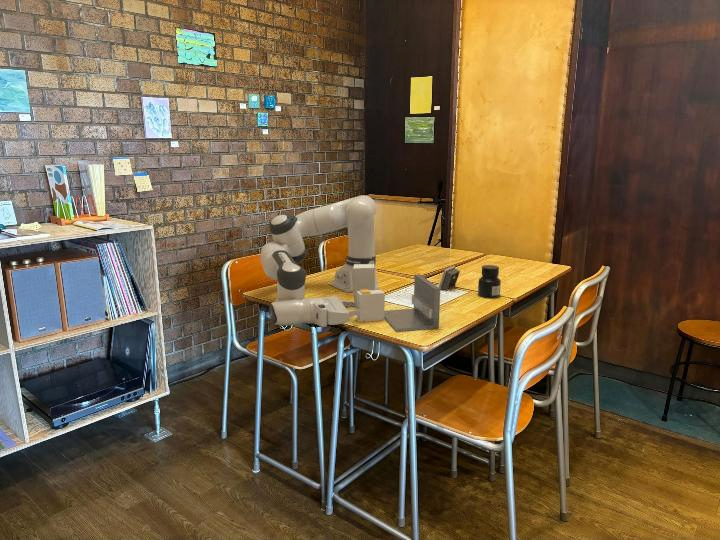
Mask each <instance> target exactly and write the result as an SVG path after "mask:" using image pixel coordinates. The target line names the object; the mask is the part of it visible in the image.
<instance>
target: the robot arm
mask: <svg viewBox="0 0 720 540" xmlns="http://www.w3.org/2000/svg"><path fill="white" fill-rule="evenodd" d="M376 212H377V204H376V202H375V201H374V199H373V198H372V197H370V196H368V195H362V194H361V195H358V196H355V197H351V198H348V199H344V200H341V201H337V202H334V203H330V204H327V205H323V206H319V207H316V208H312V209H309V210H306V211H303V212H301V213H299V214H296V215H291V214H288V213H286V214H285V213H282V214H278V215H275V216H274V217H272V219H270V221H269V223H268V229H269V232H270V234H271V237H272V239H273V241H269V242H267V243H265V244H264V245H263V246H262V248H261V250H260V263H261V266H262V269H263V271H264V273H265V275H266V276H267V277H268V278H269V279H271V280H274V281H276V285H277V286H276V288H277V289H276V290H277V293H276V295H277V296H276V299H275V300H274V301H273V302H271V303H270V304H269V308H268V310H269V317H270V320H271V322H272V323H273V325H277V326H299V325H301V324H302V325H303V324H307V325H317V326H319V327H321V328H326V327H327V326H328V325H329V326H335V325H342V324H347V323H349V322H350V320H351V319H350V318H353V317H354V316H357V315H360V310H359V309H357V308H354V309H352V310H350V309H347V308H353V307H354V300H349V301H348V300H340V298H339V297H338V296H335V295H334V296H327V297H310V298H305V294H306V293H305V292H306V291H305V290H306V289H305V288H306V279H307V271H306V270H305V269H304V268H303V267H302V266H301V265H299V264H298V263H301V262H303V260H304V259H306V257H307V253H308V250H307V247H306V245H305V242H304V239H303V238H304V237H313V236H318V235H323V234H327V233H331V232H334V231H338V230H341V229H344V228H347V234H348V255H346V256H344V260H345V263H344V264H343V265H342V266H341V267H339V268H338V269H336V271H335V273H334V279H332V280H331V281H329V283H328V284H330V286H331V285H332V287H333V286H334V288H336V289H338V290H340V289H341V290H340V291H342V290H343V292H344V293H354V277H353V267H354V264H374V266H375V290H379V283H378V278H377V269H376V263H377V258H376V257H377V256H376V255H375V254H376V253H375V252H376V249H375V248H376V238H375V237H376V235H375V218H374V217H375V215H376ZM346 307H347V308H346Z"/></svg>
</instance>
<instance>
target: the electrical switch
mask: <svg viewBox="0 0 720 540" xmlns="http://www.w3.org/2000/svg"><path fill="white" fill-rule="evenodd" d="M460 272H461V270H459V269H456V266H454V265H453V266H450V267H447V268H446V269H444V270H443V272H442V277H441V280H440V282H439V284H438V285H439V286H438V287H439V288H440V291H441V290H444V291H450V290H452V289H453V288H455V287H456V284H457V282H458V279H459V275H460Z"/></svg>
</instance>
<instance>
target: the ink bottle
mask: <svg viewBox="0 0 720 540" xmlns="http://www.w3.org/2000/svg"><path fill="white" fill-rule="evenodd" d="M499 273H500V266H498V265H493V264H484V265H482V266H481V276H480V277H479V279H478V284H477V285H478V286H477V287H478V288H477V294H478V296H479V297H482V298H490V299H493V298H494V299H495V298H496V299H497V298H499V297H500V296H501V285H502V284H501V283H502V280H501V279H500V278H499Z"/></svg>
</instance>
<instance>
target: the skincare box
mask: <svg viewBox="0 0 720 540" xmlns="http://www.w3.org/2000/svg"><path fill="white" fill-rule="evenodd" d="M375 268H376V265H375V266H374V264H354V267H353V277H354V292H353V303H354V306H353V307H354V308H357V291H360V290H364V289H368V290H375Z"/></svg>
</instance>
